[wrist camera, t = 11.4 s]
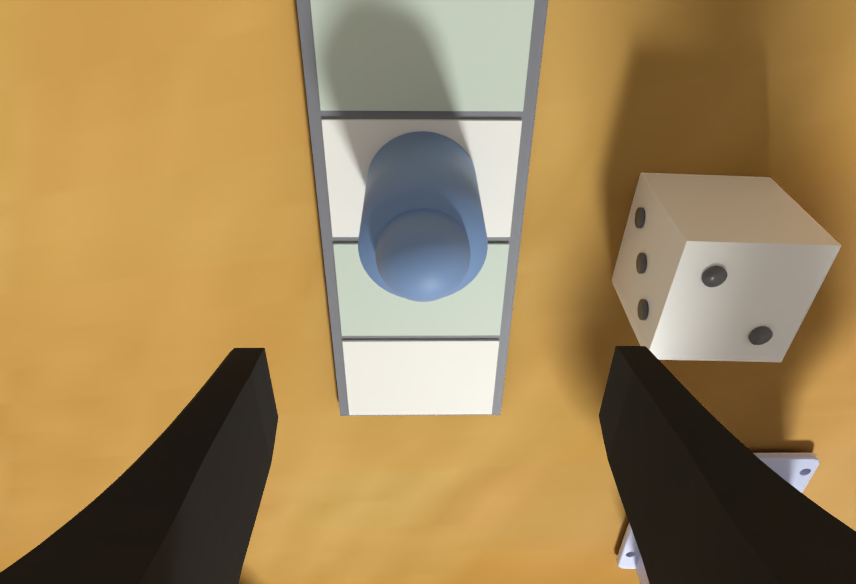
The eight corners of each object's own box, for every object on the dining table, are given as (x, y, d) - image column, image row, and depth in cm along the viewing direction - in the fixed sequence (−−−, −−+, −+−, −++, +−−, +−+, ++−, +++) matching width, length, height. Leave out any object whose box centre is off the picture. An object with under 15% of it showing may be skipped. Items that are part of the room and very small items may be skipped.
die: (725, 282, 24) (782, 364, 20) (608, 279, 24) (644, 361, 20) (768, 175, 21) (843, 247, 18) (636, 171, 21) (684, 242, 17)
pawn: (473, 231, 22) (488, 335, 17) (369, 230, 21) (356, 335, 17) (480, 131, 19) (499, 221, 15) (364, 130, 19) (349, 220, 15)
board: (499, 406, 28) (500, 416, 27) (341, 407, 27) (340, 417, 27) (550, -52, 17) (554, -49, 16) (293, -55, 17) (290, -51, 16)
